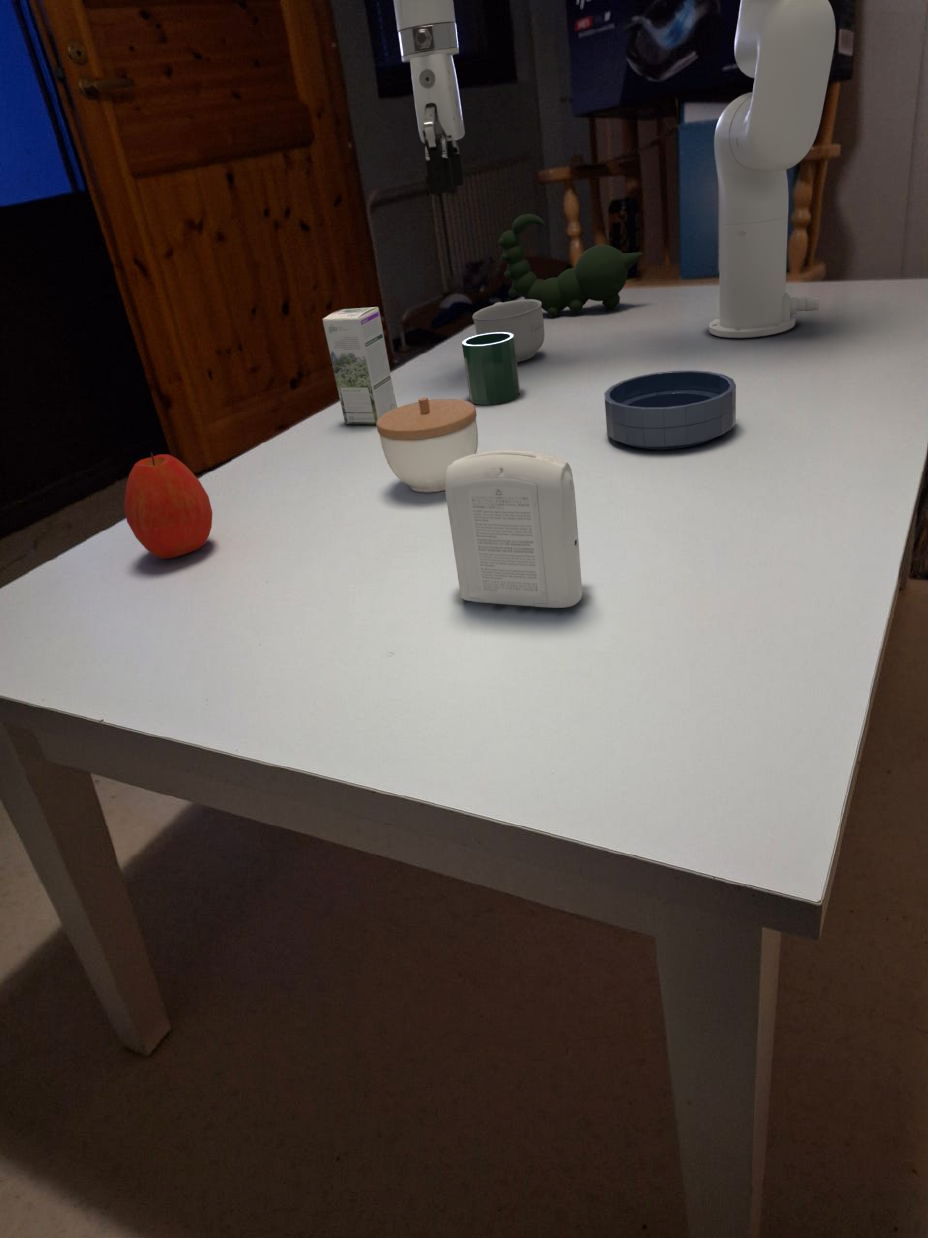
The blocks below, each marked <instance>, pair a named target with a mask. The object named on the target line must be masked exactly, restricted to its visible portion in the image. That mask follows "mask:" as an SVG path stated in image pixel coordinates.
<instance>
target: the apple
mask: <svg viewBox="0 0 928 1238" xmlns="http://www.w3.org/2000/svg"><path fill="white" fill-rule="evenodd" d="M123 508H124V513H125V517H126V523H127V524H128V526H129V528H130V530H131V531H132V533H133V535H134V537H135V538H136V540H137V541H138V542H139V543H140V544H141V546H143V547H144V549H145V550H146V551H147V552H148V553H150V554H152V555H153V556H154V557H156V558H158V559H163V560H164V559H165V560H167V559H173V558H177V557H181V556H185V555H188V554H190V553H192V552H195V551H197V550H199V549H200V548H201V547H203V546H204V545H205V544H206V542H207V540H208V538H209V536H210V534H211V530H212V528H213V527H212V526H213V509H212V505H211V500H210V496H209V495H208V493H207V491H206V489H205V488H204V486H203V484H202V483H201V481H200V479H199V478H198V477H197V476H196V475H195V474H194V473H193V472H192V470H191V469H190V468H189V467H188V466H186V464H184V462H182V461H181V460H179V459H178V458H176V457H174V456H173V455H171V454H167V453H166V454H157V455H154V454H153V452H150V457H147V458H143V459H140V460H139V461H137V462H135V464H134V465H133V467H132V469H131V471H130V473H128V478H127V482H126V486H125V497H124V505H123Z"/></svg>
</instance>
